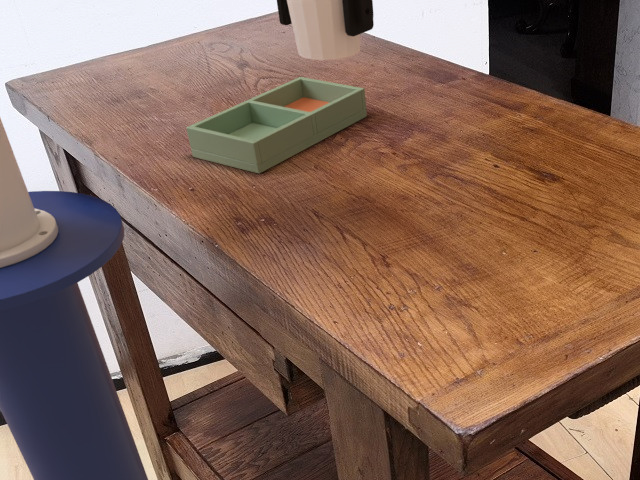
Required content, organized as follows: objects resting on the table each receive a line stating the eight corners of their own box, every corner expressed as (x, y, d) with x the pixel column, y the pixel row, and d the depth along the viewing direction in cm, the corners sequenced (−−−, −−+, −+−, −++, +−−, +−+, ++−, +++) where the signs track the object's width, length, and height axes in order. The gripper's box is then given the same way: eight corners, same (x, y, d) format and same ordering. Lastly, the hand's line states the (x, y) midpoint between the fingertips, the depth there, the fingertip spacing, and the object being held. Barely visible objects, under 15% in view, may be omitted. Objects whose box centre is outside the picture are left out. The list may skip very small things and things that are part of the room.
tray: (259, 174, 92) (253, 143, 90) (192, 157, 97) (185, 127, 95) (367, 116, 105) (364, 88, 103) (304, 103, 110) (300, 76, 107)
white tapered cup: (360, 62, 72) (353, -28, 68) (283, 62, 73) (270, -27, 68) (372, 39, 77) (366, -45, 73) (299, 40, 78) (289, -44, 74)
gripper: (182, -223, 64) (226, 24, 75) (359, -225, 56) (378, 51, 68) (250, -228, 69) (282, 6, 80) (422, -230, 61) (431, 29, 72)
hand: (326, 25), depth 74 cm, fingers closed on white tapered cup, 6 cm apart
